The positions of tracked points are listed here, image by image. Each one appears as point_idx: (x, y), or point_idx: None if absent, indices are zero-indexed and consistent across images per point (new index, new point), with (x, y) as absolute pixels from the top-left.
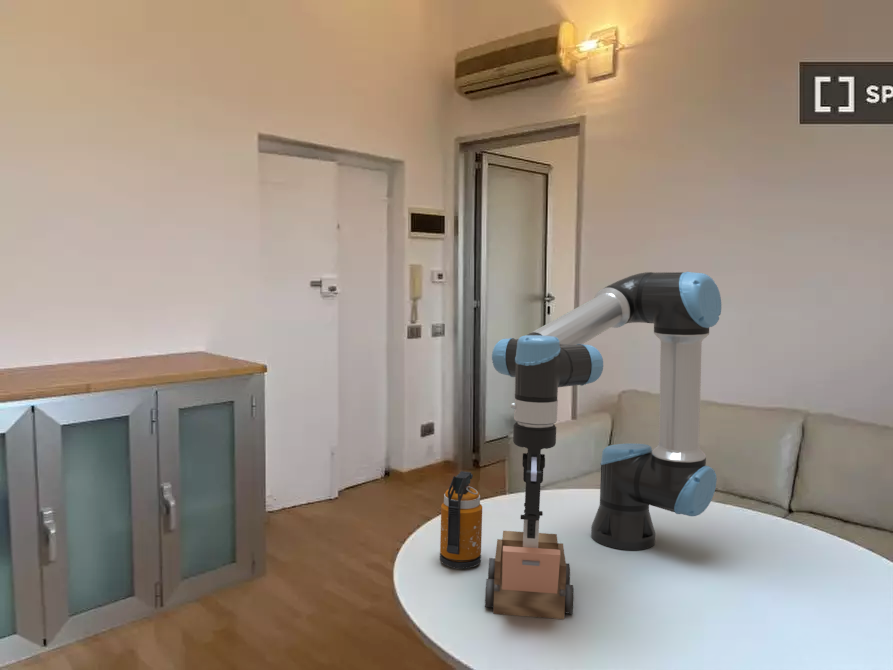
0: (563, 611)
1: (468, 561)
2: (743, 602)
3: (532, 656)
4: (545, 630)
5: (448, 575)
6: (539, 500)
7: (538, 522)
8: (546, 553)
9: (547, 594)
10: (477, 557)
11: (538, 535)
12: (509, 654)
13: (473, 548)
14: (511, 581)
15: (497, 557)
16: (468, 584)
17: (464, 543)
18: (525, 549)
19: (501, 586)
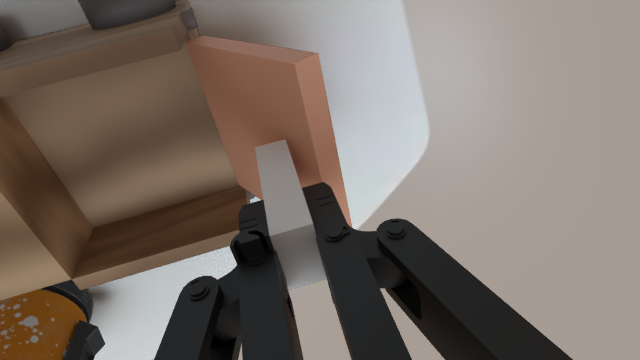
0: (186, 5)
1: (56, 292)
2: None
3: (386, 38)
4: (267, 35)
5: (123, 293)
6: (501, 302)
7: (309, 216)
8: (325, 110)
9: None
10: None
11: (298, 179)
12: (391, 84)
13: (36, 312)
14: None
15: (224, 242)
16: None
17: (57, 337)
18: (330, 185)
19: (234, 183)
